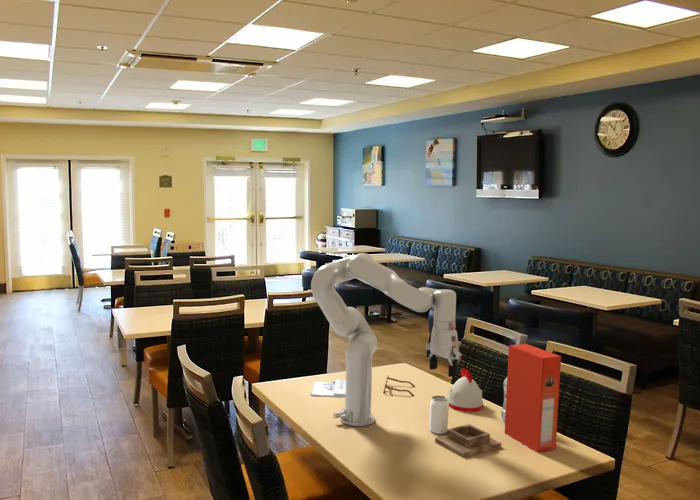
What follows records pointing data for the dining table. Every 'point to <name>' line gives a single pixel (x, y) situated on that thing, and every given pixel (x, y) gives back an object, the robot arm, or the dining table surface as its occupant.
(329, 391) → the open book
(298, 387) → the dining table surface
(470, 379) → the kitchen timer
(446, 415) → the can
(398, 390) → the glasses
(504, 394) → the plastic bottle
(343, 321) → the robot arm
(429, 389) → the dining table surface
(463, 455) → the caddy
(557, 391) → the file binder
